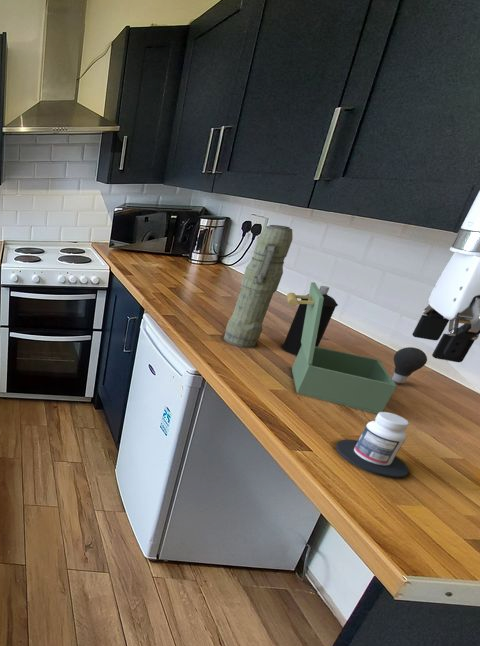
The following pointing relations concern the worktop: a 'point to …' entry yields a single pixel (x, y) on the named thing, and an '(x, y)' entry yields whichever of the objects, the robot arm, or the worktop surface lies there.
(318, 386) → the chest
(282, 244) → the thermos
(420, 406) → the worktop surface
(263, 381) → the worktop surface
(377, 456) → the pill bottle
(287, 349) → the aerosol can
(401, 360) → the light bulb
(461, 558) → the worktop surface
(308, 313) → the chest lid
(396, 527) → the worktop surface
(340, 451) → the coaster
